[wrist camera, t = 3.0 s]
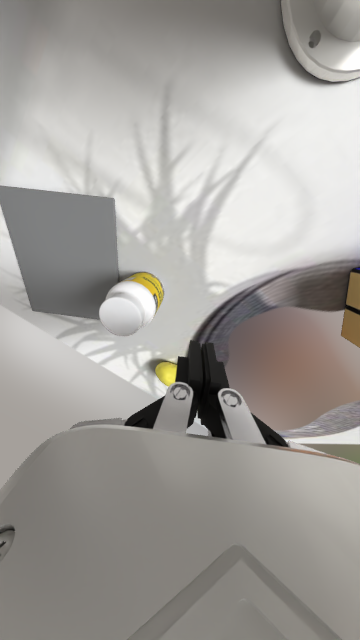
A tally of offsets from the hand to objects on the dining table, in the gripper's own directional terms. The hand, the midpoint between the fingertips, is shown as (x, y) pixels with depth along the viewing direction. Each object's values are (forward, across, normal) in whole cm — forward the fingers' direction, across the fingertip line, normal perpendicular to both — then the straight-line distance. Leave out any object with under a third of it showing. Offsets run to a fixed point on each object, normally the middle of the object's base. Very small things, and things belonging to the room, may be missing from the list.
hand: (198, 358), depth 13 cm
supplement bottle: (+13, +7, -1) cm, 15 cm away
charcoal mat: (+13, +18, -4) cm, 23 cm away
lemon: (+14, +1, +13) cm, 19 cm away
